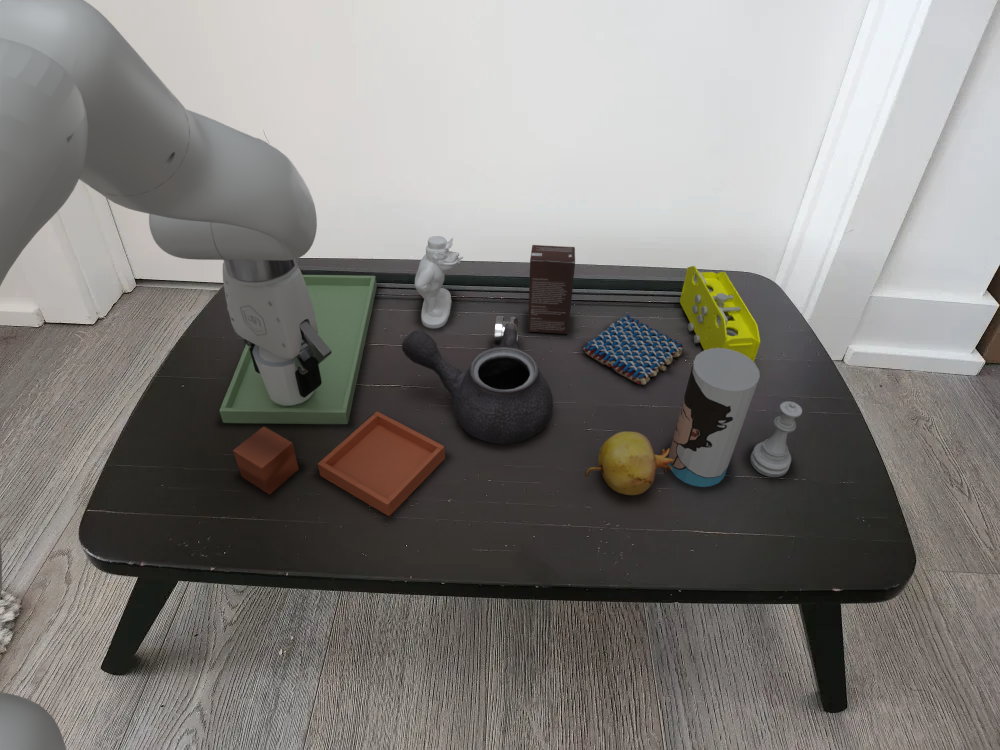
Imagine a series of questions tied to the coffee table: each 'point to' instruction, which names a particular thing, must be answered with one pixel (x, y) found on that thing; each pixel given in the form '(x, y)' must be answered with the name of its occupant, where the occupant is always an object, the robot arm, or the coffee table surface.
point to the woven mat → (633, 349)
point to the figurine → (435, 281)
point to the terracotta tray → (382, 462)
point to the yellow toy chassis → (718, 313)
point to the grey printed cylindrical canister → (712, 415)
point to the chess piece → (776, 444)
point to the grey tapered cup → (279, 376)
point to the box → (550, 288)
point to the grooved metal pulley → (502, 329)
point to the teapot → (491, 388)
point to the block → (266, 460)
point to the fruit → (629, 463)
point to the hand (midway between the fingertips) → (288, 377)
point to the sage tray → (344, 331)
